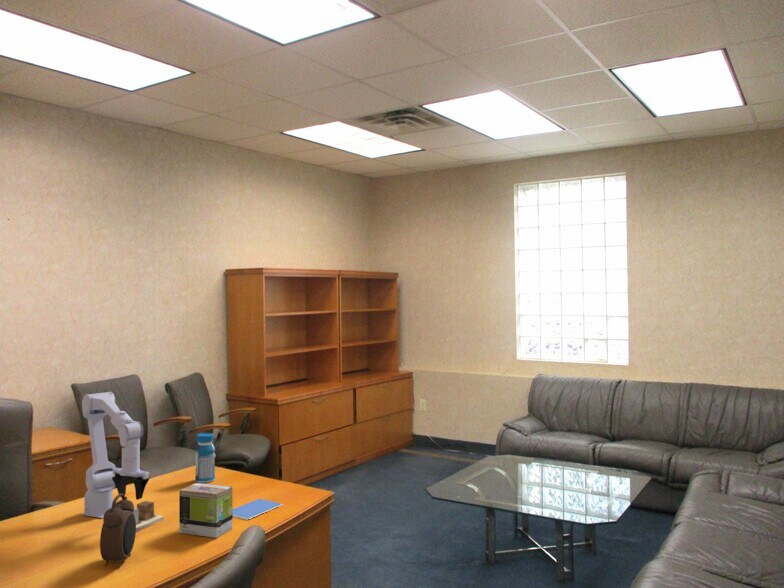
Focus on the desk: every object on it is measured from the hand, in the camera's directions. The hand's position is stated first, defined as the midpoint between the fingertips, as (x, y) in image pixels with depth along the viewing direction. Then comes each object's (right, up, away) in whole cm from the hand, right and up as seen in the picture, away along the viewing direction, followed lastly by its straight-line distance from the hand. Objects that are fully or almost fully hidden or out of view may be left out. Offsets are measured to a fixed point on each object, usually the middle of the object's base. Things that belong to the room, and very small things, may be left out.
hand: (130, 497), depth 215 cm
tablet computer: (+39, -11, +18) cm, 44 cm away
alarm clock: (+8, -11, -28) cm, 31 cm away
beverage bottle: (+9, -11, +55) cm, 57 cm away
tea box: (+27, -11, -3) cm, 29 cm away
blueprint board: (+1, -10, +3) cm, 11 cm away
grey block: (0, -9, 0) cm, 9 cm away
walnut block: (+3, -9, +6) cm, 11 cm away
